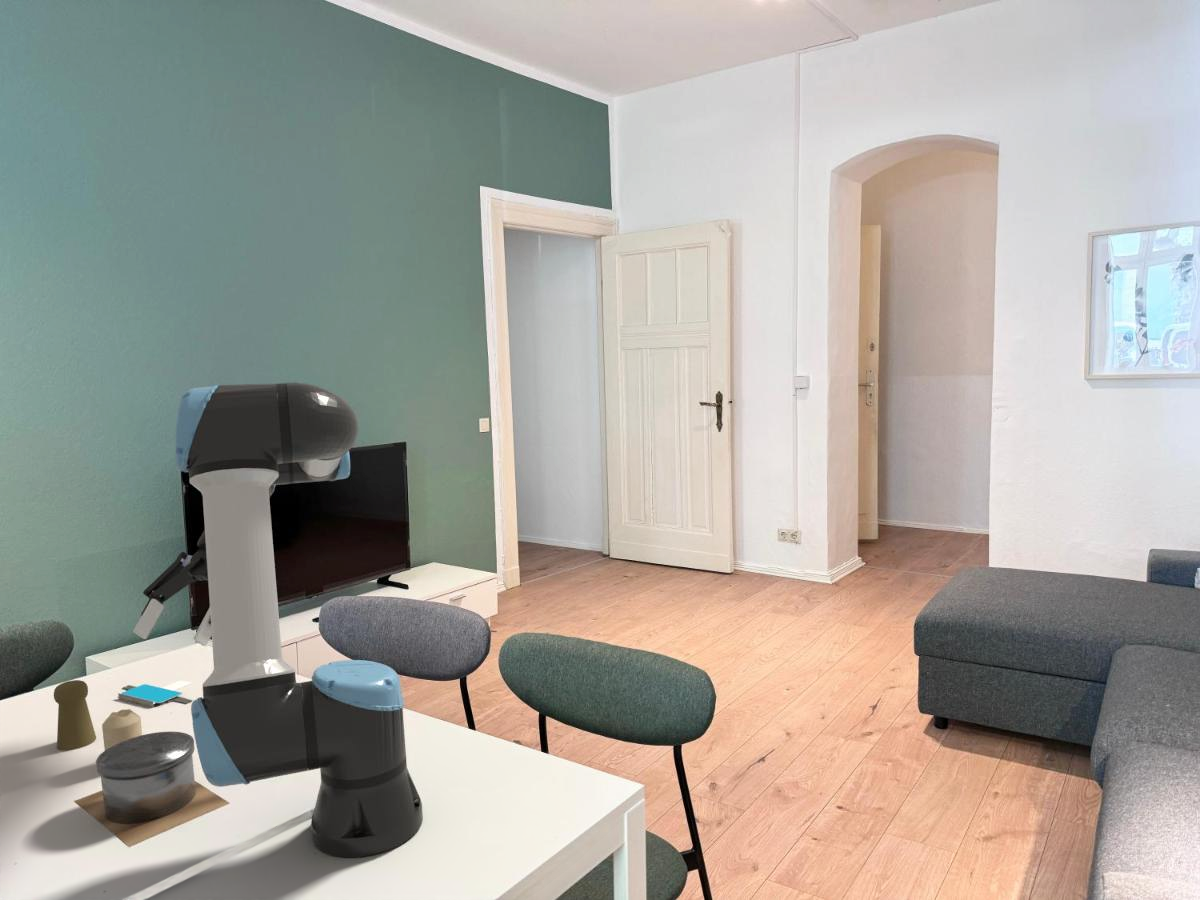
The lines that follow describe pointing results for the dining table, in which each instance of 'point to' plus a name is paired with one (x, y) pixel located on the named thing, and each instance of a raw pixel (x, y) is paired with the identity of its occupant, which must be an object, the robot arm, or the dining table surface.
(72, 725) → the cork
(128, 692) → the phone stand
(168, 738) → the round metal tin
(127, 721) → the candle
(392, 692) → the robot arm
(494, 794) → the dining table surface
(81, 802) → the wooden board
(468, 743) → the dining table surface
